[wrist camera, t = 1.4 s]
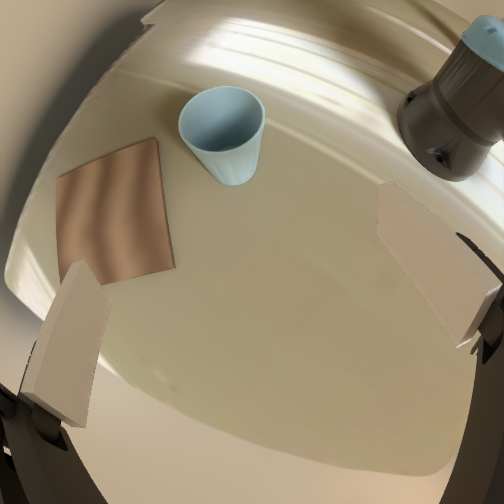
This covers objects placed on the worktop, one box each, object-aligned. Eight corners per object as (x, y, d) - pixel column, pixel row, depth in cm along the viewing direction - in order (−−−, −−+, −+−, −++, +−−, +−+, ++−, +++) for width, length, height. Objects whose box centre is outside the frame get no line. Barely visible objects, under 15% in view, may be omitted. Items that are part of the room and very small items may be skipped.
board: (158, 141, 33) (155, 137, 32) (175, 267, 31) (172, 267, 30) (60, 180, 34) (56, 178, 33) (66, 293, 31) (61, 293, 30)
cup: (260, 199, 32) (257, 158, 21) (196, 191, 32) (167, 151, 22) (269, 142, 32) (270, 88, 22) (209, 136, 33) (190, 85, 23)
